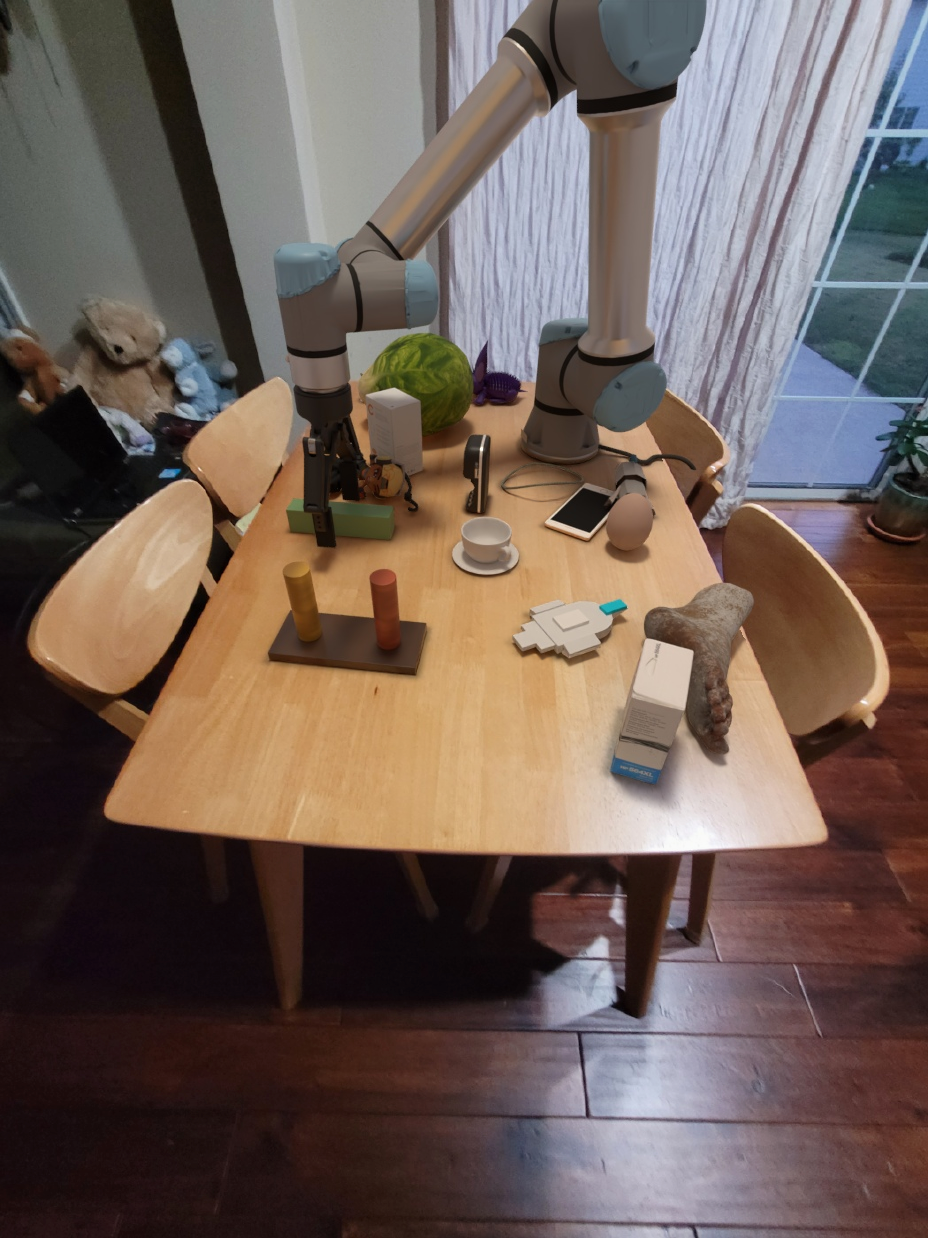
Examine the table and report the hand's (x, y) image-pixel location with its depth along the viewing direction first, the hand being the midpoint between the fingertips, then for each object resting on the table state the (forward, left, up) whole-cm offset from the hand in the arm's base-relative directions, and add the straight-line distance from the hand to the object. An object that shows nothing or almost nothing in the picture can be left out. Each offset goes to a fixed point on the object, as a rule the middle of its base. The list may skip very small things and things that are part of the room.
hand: (339, 521), depth 91 cm
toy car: (+5, -15, -2) cm, 16 cm away
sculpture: (-46, +27, +2) cm, 53 cm away
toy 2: (-46, -6, +1) cm, 46 cm away
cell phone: (-39, -11, -2) cm, 40 cm away
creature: (-18, -57, -2) cm, 60 cm away
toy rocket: (-36, +19, +1) cm, 40 cm away
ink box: (-43, +36, -2) cm, 56 cm away
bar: (0, 0, -2) cm, 2 cm away
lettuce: (-5, -38, -2) cm, 39 cm away
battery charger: (-20, -11, -2) cm, 23 cm away
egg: (-44, -1, -2) cm, 44 cm away
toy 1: (+1, -15, +3) cm, 16 cm away
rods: (-8, +25, -2) cm, 26 cm away
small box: (-4, -22, -2) cm, 22 cm away
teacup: (-23, +4, -2) cm, 24 cm away
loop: (-32, -26, -1) cm, 41 cm away
